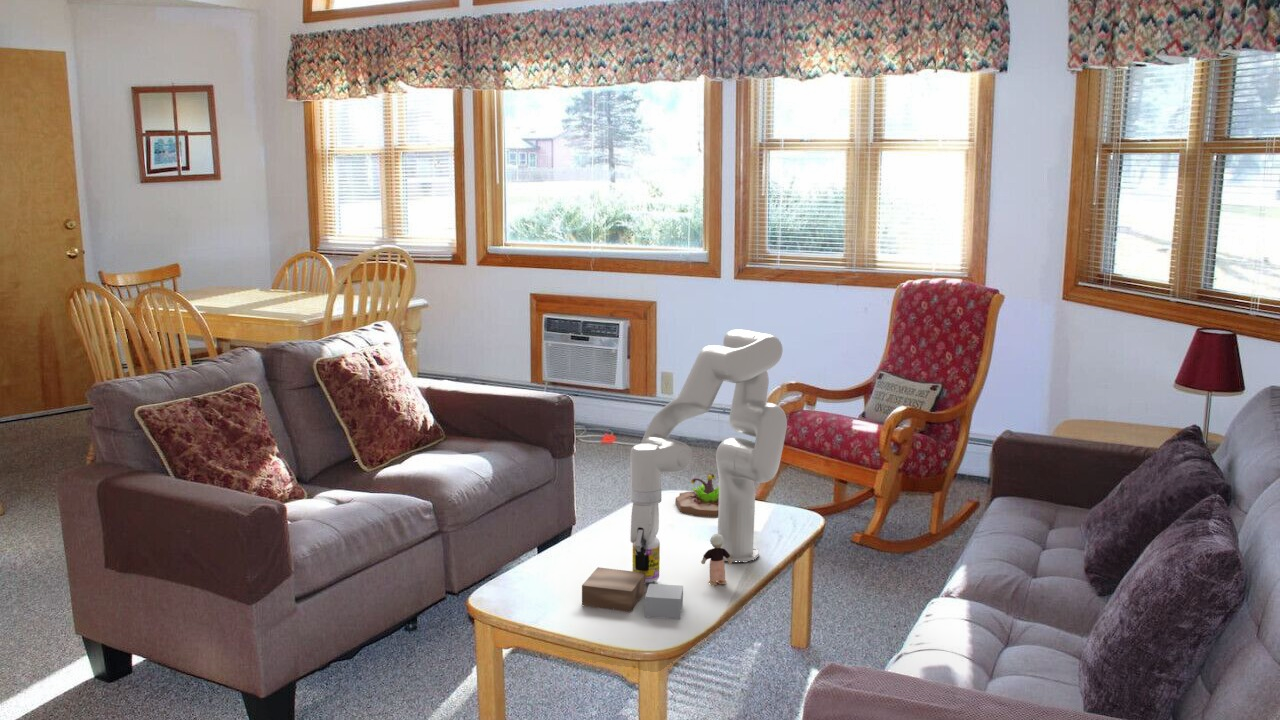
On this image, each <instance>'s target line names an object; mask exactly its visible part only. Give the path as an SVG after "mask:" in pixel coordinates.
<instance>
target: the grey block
mask: <svg viewBox="0 0 1280 720" xmlns="http://www.w3.org/2000/svg"><path fill="white" fill-rule="evenodd" d="M645 593H646V594H645V599H644V601H645V603H644V604H645V605H644V606H645V607H644V617H645V618H659V619H672V620H674V619H675V620H677V619H678V620H680V619H681V616H682V612H683V610H682V609H683V606H684V585H680V584H679V585H676V584H663V583H662V584H660V583H648V587H647V591H646V592H645Z"/></svg>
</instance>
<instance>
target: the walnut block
mask: <svg viewBox="0 0 1280 720" xmlns="http://www.w3.org/2000/svg"><path fill="white" fill-rule="evenodd" d="M645 593H646V583H645V573H642V572H634V571H633V570H623V569H615V568H607V567H605V568H604V567H596V568H595V570H594V571H593V572H592V573H591V574H590V576H589V577H588V578H587V579H586V580H585V581H584V583H582V585H581V606H582V605H584V606H583V607H588V606H590V607H591V608H598V609H606V610H612V611H620V612H630V613H632V612H633V610H634V609H635V607H636V606H637V605H638V603H639V602H640V601H641V600H642V598H643V596H644V595H646V594H645ZM590 607H589V608H590Z"/></svg>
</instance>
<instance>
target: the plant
mask: <svg viewBox="0 0 1280 720" xmlns="http://www.w3.org/2000/svg"><path fill="white" fill-rule="evenodd" d="M715 479H716V476H715V474H713V473H711V472H710V473H708V474H707V482H705V481H704V480H703V479H701V478H695V477H694V478H692V479H690V483H691V484H695V483H696V481H698V482H700V483H701V486H700V485H697V488H694V487H691V491H684V492H679V495H678V496H677V497H675V503H674V504H675V506H676V508H677V509H678V511H679V513H681V512H682V514H687V515H691V514H692V516H697V517H708V516H709V517H711V518H712V517H713V518H716V517H717V518H718V506H719V486H716V487H715V488H714V485H713V480H715Z"/></svg>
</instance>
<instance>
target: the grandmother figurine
mask: <svg viewBox="0 0 1280 720" xmlns="http://www.w3.org/2000/svg"><path fill="white" fill-rule="evenodd" d="M709 541H710V544H711V546H712V548H713V547H714V549H712V548H710V549H708V550H707V551H705V553H704V554H703V556H702V559H701V561H700V562H701V564H702V565H705V564H706V561H707V560H709V559H710V560H709V580H708V584H709V583H710V584H711V586H712V585H716V586H718V584H719V583H720V584H725V583H726V584H727V580H726V566H725V561H724V559H723V556H724V557H725V558H726V559H727V560H728V562H727V563H728V564H733V563H732V560H731V557H730V555H729V553H728V552H727V551H726V550H725V549H723V548H720V547H721V546H722V544H723V542H724V539H723V536H722V535H721V534H718V533H714V534H713V535H712V536H710V539H709ZM718 582H719V583H718ZM710 584H709V585H710ZM720 584H719V585H720ZM726 584H725V585H726Z"/></svg>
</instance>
